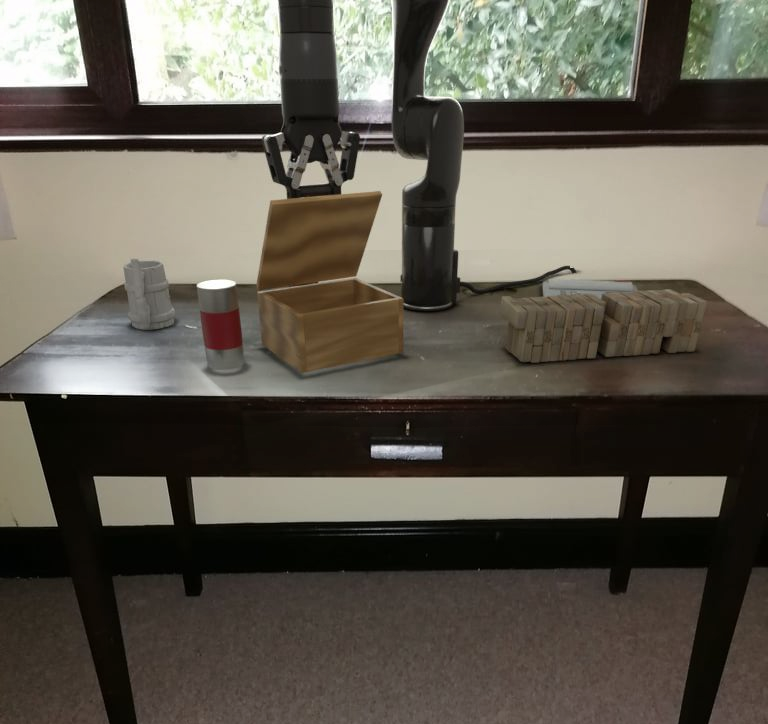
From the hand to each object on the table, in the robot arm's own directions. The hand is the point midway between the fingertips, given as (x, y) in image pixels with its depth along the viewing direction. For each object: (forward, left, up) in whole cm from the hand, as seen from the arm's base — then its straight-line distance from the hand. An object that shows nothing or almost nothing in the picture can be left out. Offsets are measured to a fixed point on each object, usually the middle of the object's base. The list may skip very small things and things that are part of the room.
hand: (315, 214), depth 103 cm
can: (+16, +1, -19) cm, 25 cm away
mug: (+20, -25, -20) cm, 37 cm away
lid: (0, +1, -4) cm, 4 cm away
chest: (0, +3, -19) cm, 20 cm away
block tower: (-35, +23, -20) cm, 46 cm away
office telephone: (-54, +4, -20) cm, 58 cm away
